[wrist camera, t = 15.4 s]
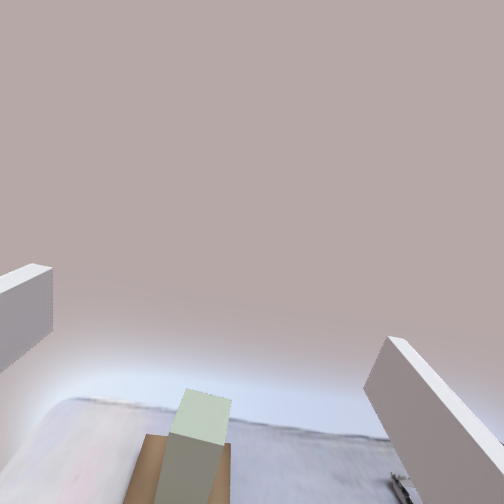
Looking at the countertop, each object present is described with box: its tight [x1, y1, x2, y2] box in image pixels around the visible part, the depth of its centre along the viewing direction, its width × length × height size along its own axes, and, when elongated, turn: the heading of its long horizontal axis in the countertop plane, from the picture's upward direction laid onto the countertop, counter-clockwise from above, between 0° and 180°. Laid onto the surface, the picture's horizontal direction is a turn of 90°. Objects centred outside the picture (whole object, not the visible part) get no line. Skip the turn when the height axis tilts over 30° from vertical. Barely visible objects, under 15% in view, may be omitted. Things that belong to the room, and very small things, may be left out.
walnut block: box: [123, 434, 231, 504], centre depth 29 cm, size 11×11×4 cm
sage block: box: [154, 389, 232, 504], centre depth 27 cm, size 5×5×11 cm
